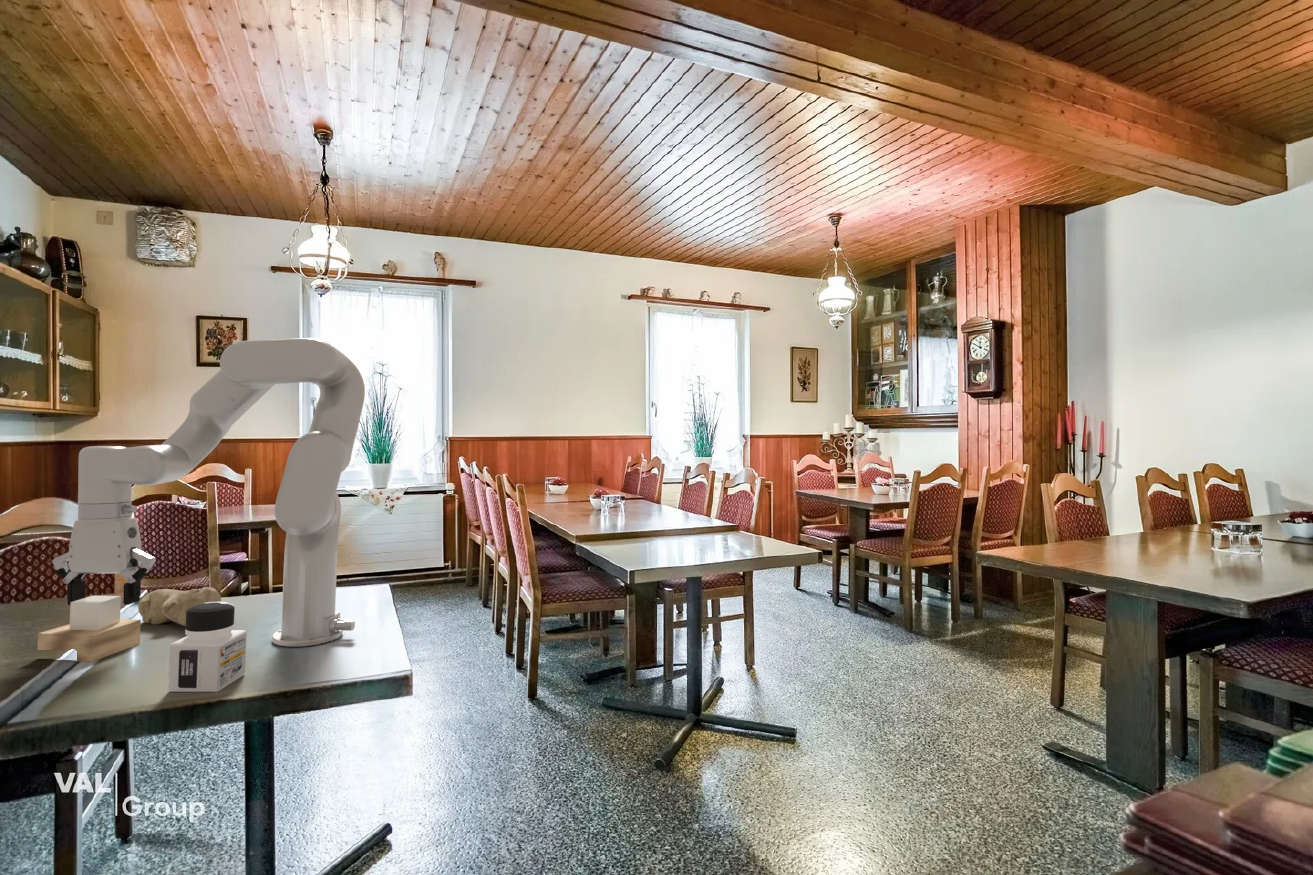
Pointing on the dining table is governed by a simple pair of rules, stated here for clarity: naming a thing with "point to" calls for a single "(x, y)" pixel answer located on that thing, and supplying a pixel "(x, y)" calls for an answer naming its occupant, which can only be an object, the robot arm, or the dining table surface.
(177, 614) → the sculpture
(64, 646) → the oak block
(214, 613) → the container
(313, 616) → the robot arm
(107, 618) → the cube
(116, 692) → the dining table surface
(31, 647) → the dining table surface
